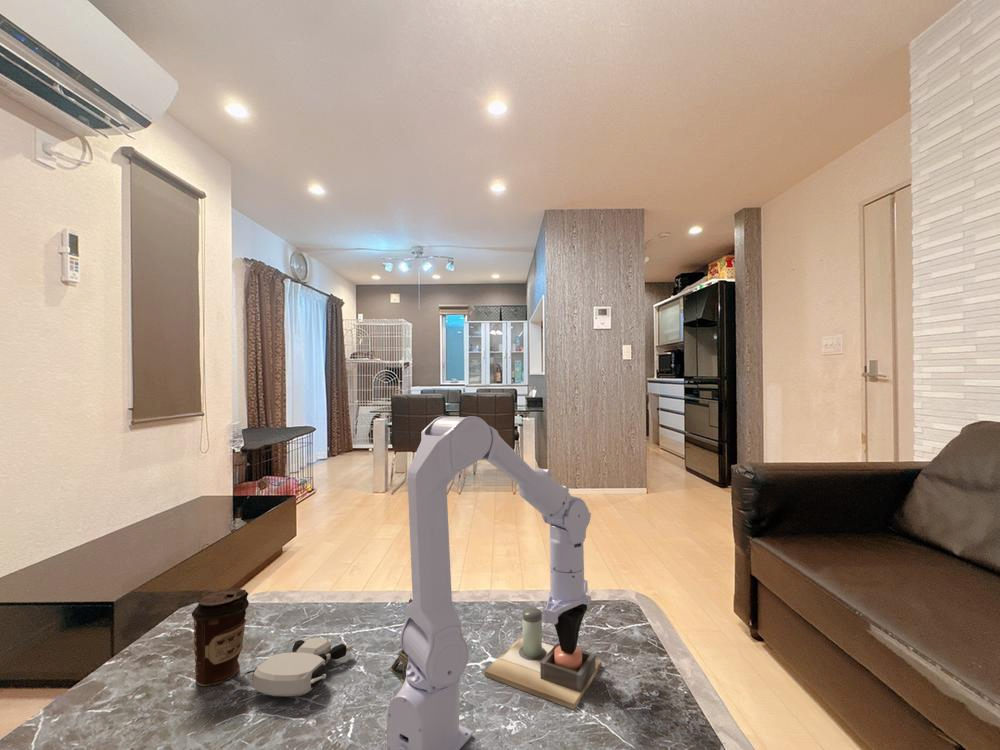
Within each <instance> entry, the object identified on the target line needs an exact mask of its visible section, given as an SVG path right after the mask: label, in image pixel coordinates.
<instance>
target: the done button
mask: <svg viewBox="0 0 1000 750" xmlns="http://www.w3.org/2000/svg"><path fill="white" fill-rule="evenodd" d="M581 650H582V649H580V648H579V647H577V646H576V650H575V651H574V653H573V654H570V653H567V652H564V651H562V650H561V647H560V646H558V647H556V648H555V651H554V657H555V665H558V666H561V667H564V668H567V669H570V670H573V671H576V672H578V671H579V670H580V669H581V667H582V651H581Z"/></svg>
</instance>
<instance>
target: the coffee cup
mask: <svg viewBox="0 0 1000 750" xmlns="http://www.w3.org/2000/svg"><path fill="white" fill-rule="evenodd" d="M248 596H249V593H248V591H247V590H246V589H241V588H238V587H236V588H234V587H230V588H226V589H221V590H217V591H214V592H211V593H208V594H206V595H204V596H203V597H202V598H200V599H199V601H198V604H197V606H196V607H194V609H193V610H192V613H191V617H192V618H193V642H194V646H193V648H194V650H193V651H194V662H195V668H194V669H195V670H194V671H195V672H194V673H195V681H196V684H197V685H198V686H201V687H207V686H214V685H218V684H221V683H223V682H225V681H227V680H230V679H231V678H232V677H234V676H235V675H236V674H237V673H238V672H239V670H240V667H241V666H240V662H239V660H238V659H239V657H240V654H241V652H242V650H243V648H244V647H243V646H244V645H243V642H244V635H245V627H246V623H247V619H246V614H247V612H246V610H247V609H248V608H249V605H250V602H249V600H248Z"/></svg>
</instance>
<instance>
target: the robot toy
mask: <svg viewBox="0 0 1000 750" xmlns="http://www.w3.org/2000/svg"><path fill="white" fill-rule="evenodd" d="M332 640H333V639H331V638H323V637H313V638H308V639H307V640H305V639H299V640H296V641H295V642H294V643H293V646H292V649H291V652H282V653H277V654H273V655H271V656H269V657H268V658H267V659H266V660H264V661H262V662H261V663H260V664H259V665H257V666H256V667H255V668H254V669H251V670H247V671H245V672H243V671H242V672H241V673H240V677H245V675H249V674H252V679H251V680H252V688H253V689H254V690H255V691H256V692H259V693H261V694H263V695H268V696H273V697H292V696H295V697H300V696H304V695H306V694H307V693H309V692H310V691H312V689H315V688H316V687H317V686H318V685H319V684H320V683H321V682H322V681H323V680H324V679H326V678H327V666H326V664H327V663H328V662H329V661H330V659H331V660H339V659H342V658H344V657H346V655H347V652H351V651H352V650H353V649H354V645H353V644H350V643H339V644H337V645H335V646H333V647H332Z"/></svg>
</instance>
